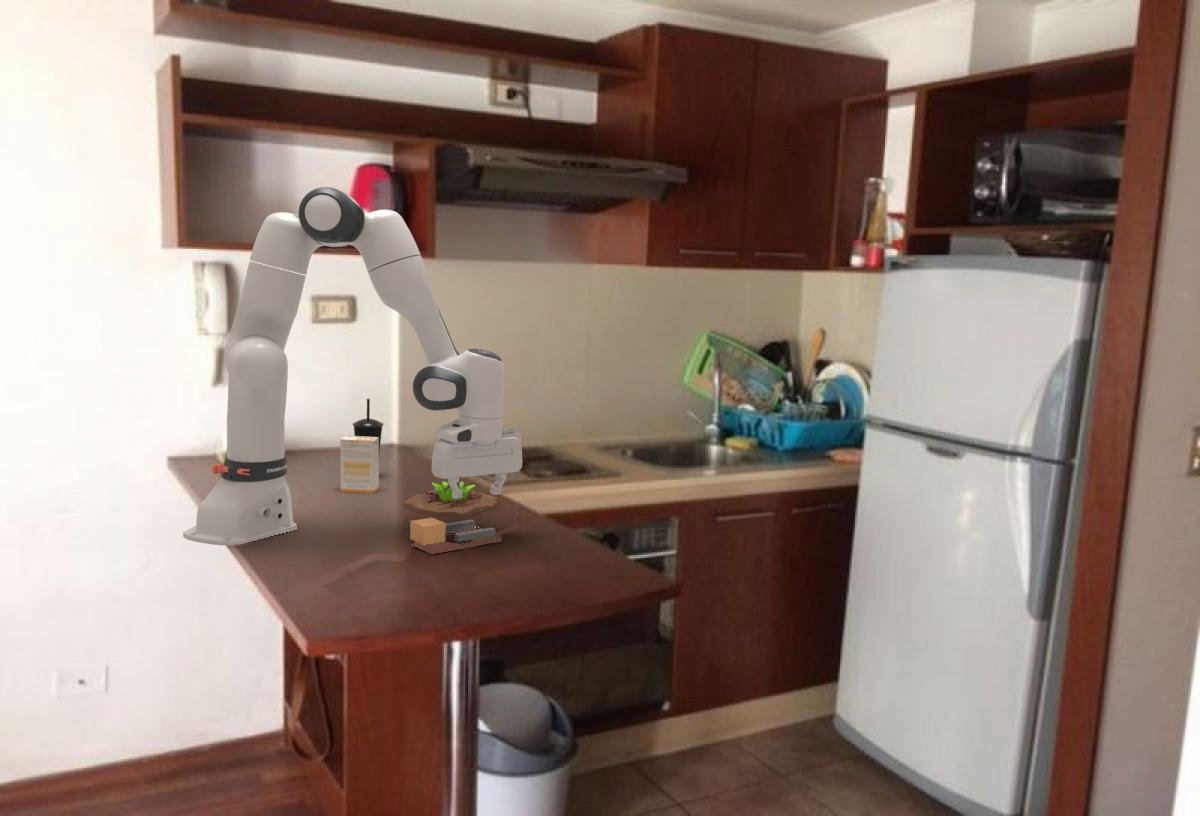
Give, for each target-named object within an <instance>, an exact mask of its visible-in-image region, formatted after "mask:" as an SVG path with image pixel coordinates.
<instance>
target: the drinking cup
mask: <svg viewBox="0 0 1200 816" xmlns="http://www.w3.org/2000/svg"><path fill="white" fill-rule="evenodd" d="M370 402H371V399H370V398H366V418H362V419H359V420H357V421H354V422H353V423H352V426H353V430H354V431H353V433H354V435H353V436H364V437H379V453H380V450H381V441H382V431H383V426H384V422H381V421H379V420H377V419H374V418H370V417H371V416H370V414H371V413H370V411H371V410H370V404H371V403H370Z"/></svg>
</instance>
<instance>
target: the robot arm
mask: <svg viewBox="0 0 1200 816" xmlns="http://www.w3.org/2000/svg"><path fill="white" fill-rule="evenodd" d="M352 246H353V247H354V248H355V249H356V250H357V251H358V252H359V254H360V256H361V258H362V260H363V262H364V265H365V268H366V270H367V273H368V276H369V279H370V282H371V284H372V285H373V288H374V290H375V292H376V293H377V295H378V297H379V299H380V300H381V302H382V303H383V304H384V305H385V306H386V307H388V308H389V309H392V310H393V311H395V312H397V313H398V314H399V315H401V316H402V317H404V318H405V320H407V321H408V322H409V323H410V324H411V325H410V326H411V327H413V330H414V332H415V334H416V336H417V338H418V341H419V343H420V345H421V349H423V353H424V355H425V357H426V359H427V361H428V362H427V363H428V364H427V365H426V366H425V367H423V368H422V369H420V370H419V371H418V372H417V373H416V375H415V376H414V379H413V382H412V392H413V396H414V398H415V400H416V402H417V403H418V404H419V405H420V406H421V407H422V408H425V409H426V410H429V411H435V412H442V411H447V410H453V409H454V410H455V409H456V410H458V411H459V412H458V418H457V419H455V420H453V421H451V422H449V423H446V424H443V425H441V426H439V427H437V428H436V429H435V430H436V432H435V436H436V438H438V440H436V442H435V443H434V447H433V448H432V456H431V473H432V475H433V474H434V475H435V476H436V477H435V476H434V475H433V476H434V477H435V478H438V479H442V480H447V479H448V480H447V483H449V485H450V487H451V489H452V498H454V499H460V498H462V497H463V496H462V494H463V490H460V489H459V488H458V486H457V483H459V477H460V478H465V477H477V476H486V475H488V476H489V475H495V477H496V479H495V481H494V483H493V484H491V485H490V490H489V491H490V492H489V493H490V494H492V495H501V494H502V486H503V485H504V483H505V481H506V479H507V478H508V477H507V475H508V474H509V473H517V472H520V470H521V469H522V467H523V450H522V437H523V436H522V433H521V431H520V430H518V429H517V428H516V427H509V428H507V427H506V428H505V427H503V421H504V420H503V419H504V416H503V415H504V413H503V409H502V404H503V399H504V396H505V384H506V383H505V381H506V380H505V378H506V377H505V366H504V362H503V359H502V358H501V356H500V355H498V354H496V353H494V352H492V351H489V350H485V349H480V348H479V349H478V348H468V349H466V350H465V351H463V352H462V353H459V351H458V350H457V348H456V347H455V344H454V341H453V340H452V337H451V335H450V332H449V330H448V328H447V325H446V323H445V321H444V318H443V316H442V314H441V312H440V309H439V307H438V305H437V302H436V297H435V294H434V291H433V290H432V286H431V282H430V279H429V276H428V273H427V270H426V267H425V263H424V260H423V258H422V255H421V252H420V250H419V248H418V245H417V242H416V241H415V239H414V236H413V235H412V232H411V231H410V229H409V226H407V224H406V222H405V220H404V218H403V217H402V216H401V215H400V213H398V212H397V211H395V210H392V209H379V210H374V211H373V210H372V211H370V212H366V211H364V209H363V207H362V206H361V205H360V204H359V203H358V201H356V200H355V199H354V197H352V196H351V195H350V194H348V193H347V192H344V191H342V190H339V189H337V188H335V187H328V186H323V187H321V186H320V187H317V188H315V189H312V190H310V191H309V192H308V193H306V194H305V195H304V197H302V199H301V202H300V203H299V207H298V213H291V212H283V211H281V212H280V211H279V212H273V213H271V214H268V216H267V217H266V218H265V219H264V221H263V223H262V224H261V227H260V228H259V231H258V233H257V236H256V238H255V241H254V244H253V247H252V250H251V254H250V257H249V261H248V266H247V270H246V275H245V278H244V282H243V285H242V286H243V287H242V289H241V291H242V292H241V293H240V294H241V295H240V299H239V302H238V306H237V309H236V313H235V316H234V319H233V321H232V322H233V323H232V325H231V329H230V332H229V337H228V339H227V342H226V347H225V351H224V355H223V361H224V362H223V363H224V367H225V369H226V371H227V376H228V377H227V379H228V380H227V384H228V385H227V386H228V387H227V410H226V411H227V412H226V457H225V458H224V460H223V463H222V464H221V463H217V462H215V463H213V464H212V467H211V471H212V473H213V474H219V475H220V477H221V478H220V480H219V481H218V482H217V483H216V484H215V486H214V487H213V489H211V491H209V493H208V494H207V495H206V497H205V498H204V499H203V500H202V501H201V502H200V504H199V505H198V507H197V513H196V525H195V526H193V527H191V528H189V529H186V530H184V531H183V533H182V538H184V539H185V540H188V541H191V542H196V543H200V544H206V545H207V544H208V545H217V546H227V547H228V546H230V547H231V546H233V545H236V544H243V543H247V542H251V541H255V540H258V539H262V538H266V537H270V536H273V537H275V536H274V535H277V536H279V535H278V534H281V535H283V534H282V533H284V534H287V533H286V532H288V533H290V531H291V532H295V531H297V530H298V524H297V523H296V522H294V518H293V517H294V516H293V507H292V506H293V505H292V496H291V489H290V487H289V485H288V483H287V479H286V475H287V474H288V460H287V456H286V455H285V421H286V420H285V415H286V405H287V396H288V395H287V393H288V374H289V372H288V371H289V362H288V358H287V355H286V353H285V347H286V345H287V343H288V342H287V341H288V338H289V336H290V334H291V333H290V332H291V330H292V327H293V325H294V321H295V319H296V318H297V317H296V316H297V314H298V311H299V306H300V302H301V299H302V295H303V290H304V286H305V282H306V278H307V273H308V269H309V265H310V260H311V258H312V256H313V254H314V252H315V251H316V250H317V249H319V250H324V249H325V250H326V249H345V248H349V247H352ZM507 473H508V474H507ZM294 530H295V531H294ZM270 538H271V537H270ZM266 539H267V538H266Z"/></svg>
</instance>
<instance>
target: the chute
mask: <svg viewBox="0 0 1200 816" xmlns="http://www.w3.org/2000/svg"><path fill="white" fill-rule="evenodd" d="M476 527H477V526H476V520H473V519H466V520H460V521H455V522H447V523H446V535H448V534H447V533H451V532H456V531H462V530H468V529H469V530H470V529H474V528H476ZM496 532H497V531H496V528H494V527H491V526H490V527H486V528H481V529H479V530H474V531H468V532H462V533H456V534H453V535H454V536H453V542H455V541H457V542H456V543H458V542H459V543H463V542H462V541H465V542H469V540H471V541H472V540H473V539H478V538H485V537H489V536H494V535H495V534H497V533H496Z"/></svg>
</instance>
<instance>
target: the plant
mask: <svg viewBox="0 0 1200 816" xmlns="http://www.w3.org/2000/svg"><path fill="white" fill-rule="evenodd" d="M432 475H433V477H434V478H437V477H436V476H435V475H434V474H433V473H432ZM446 480H447V481H445V480H443V481H441V484H439V483H437V482H431V484H432V485H433V486H434V489H432V490H430V491H423V492H421V493H417V494H416V495H414V496H411V497H408V498H407V499H406V501H405V502H404V509H406V510H410V511H412V512H414V513H417V514H422V515H430V516H434V517H443V516H444V517H446V516H447V517H457V518H458V517H459V518H463V517H465V518H466V517H469V516H472V515H476V514H479V513H480V514H481V513H483V512H486V511H491V510H490V509H493V510H494V507H495V508H497V507H498V505H499V503H498V501H499V500H498V498H497V497H495V496H493V495H490V494H484V493H480V492H478V491H475V490H472V489H473V488H474V487H475V486H476V485H475V484H472V485H467V486H464V485H465V483H464V481H460V480H461V477H459V483H457V486H458V488H459V489H460V490H463V494H462V496H463V497H462V498H460V499H454V498H452V489H451V487H450V485H449V483H448V479H446ZM496 506H497V507H496Z"/></svg>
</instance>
